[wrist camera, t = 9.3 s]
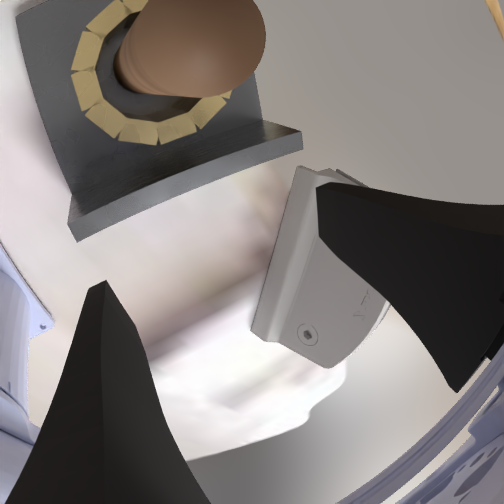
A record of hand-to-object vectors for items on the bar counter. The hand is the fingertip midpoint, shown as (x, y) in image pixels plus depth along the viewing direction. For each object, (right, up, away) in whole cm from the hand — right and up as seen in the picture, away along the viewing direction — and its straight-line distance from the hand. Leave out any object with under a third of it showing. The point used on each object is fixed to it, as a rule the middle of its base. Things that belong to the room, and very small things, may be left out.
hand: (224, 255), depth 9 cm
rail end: (-5, +10, +3) cm, 11 cm away
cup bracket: (-5, +10, +4) cm, 12 cm away
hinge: (+6, 0, +18) cm, 19 cm away
